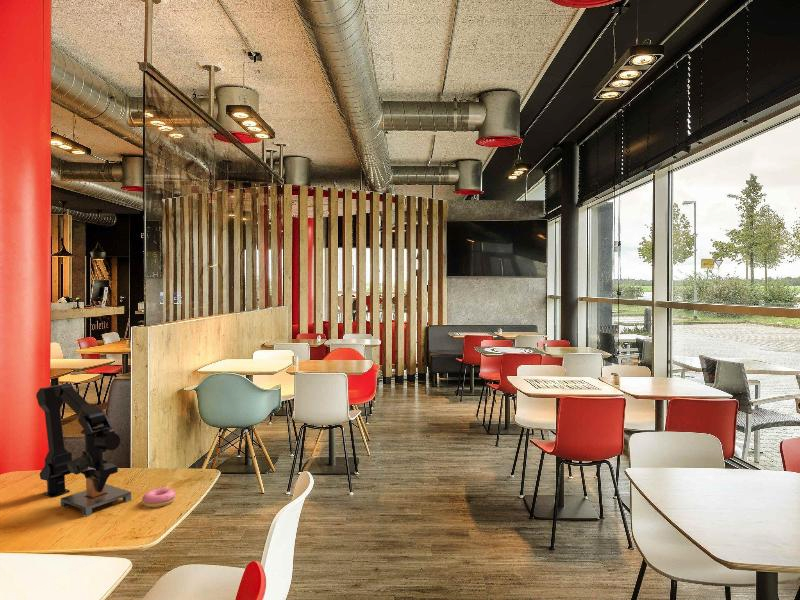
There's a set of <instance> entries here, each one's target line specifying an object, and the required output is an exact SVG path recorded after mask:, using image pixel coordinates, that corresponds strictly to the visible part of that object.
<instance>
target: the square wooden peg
mask: <svg viewBox="0 0 800 600" xmlns="http://www.w3.org/2000/svg"><path fill="white" fill-rule="evenodd" d="M85 485H86V486H85V487H86V489H85V490H87V498H89V499H94V498H97V497H100V496H103V495H105V485H104V487H103V490H102V492H98V490H97V484H96V479H95V478H94V477H93V476H91V477H87V478H85Z"/></svg>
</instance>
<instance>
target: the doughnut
mask: <svg viewBox="0 0 800 600" xmlns="http://www.w3.org/2000/svg"><path fill="white" fill-rule="evenodd" d="M176 494H177V493H176V491H175V490H174V489H173V488H170V487H158V488H154V489H150V490H148V491H147V492H146V493H144V494H143V496H142V499H141V500H142V504H143V506H145V507H148V508H160V507H161V506H162V507H164V506H165V507H166V506H168V505H170V504H171V503H173V502H174V501H175V499H176Z"/></svg>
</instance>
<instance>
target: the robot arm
mask: <svg viewBox="0 0 800 600" xmlns="http://www.w3.org/2000/svg"><path fill="white" fill-rule="evenodd" d="M35 397H36V400H37V404H38V406H39V408H41V410H42V411H43V412H44V417H45V427H46V435H47V436H46V437H47V445H48V446H47V447H48V452H47V453H46V456H45V458H44V466H43V468H42V469H41V470H40V472H39V477H40V480H43V481H46V491H44V492H42V494H43V495H45V496H47V497H50V498H53V497H56V496H57V497H58V496H61V495H63V494H66V493H69V492H70V491H71V490H70V489H67V488H66V477H65V476H68V475H70V474H73V475H79V474H82V475H83V476H84V478H85V479H86V478H87V477H91V476H93V477H94V478H95V479H96V484H97V490H98V492H102V490H103V487H104V485H105V484H107V483H106V482H107V481H108V480H109V477H110V476H111V475H114V474H117V473H119V467H118V465H116V464H114V463H109V462H107V459H105V452H107V451H115V450H117V449H118V448H119V446H120V444H121V438H120V435H119V434H118V433H116V431H115V429H113V427H112V423H111V421H110V420H109V418H108V416H107V414H106V412H105V411H104V410H103V409H101V408H100V407H99V406H95V405H92V404H90V403H89V402H87V401H86V399H85V398H84V397H83V396H82V395H81V394H80V393H79V392H78V391H77V390H76V389H74V386H73V384H72V383H64V384H63V383H62V384H57V385H51V386H46V387H45V386H44V387H41V388H39V389H38V390H37V391H36V394H35ZM64 403H65V404H66V405H67V406H68V407H69V408H70V409H71V410H72V411H73V412H74V413H75V415H77V422H78V424H79V425H80V426H81V427H82V429H81V431H80V434H82V435H84V436H83V437H84V450H82V451H81V456H78V457H77V458H75V459H72V455H73V454H72V452H70V451H68V450H67V449H66V447H65V442H64V441H65V440H64V432H63V423H62V422H63V421H62V414H61V409H62V407H63V405H64Z"/></svg>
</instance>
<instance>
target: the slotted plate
mask: <svg viewBox="0 0 800 600" xmlns="http://www.w3.org/2000/svg"><path fill="white" fill-rule="evenodd" d="M120 499H122V502H124V501H125V503H127V502H129V501H130V502H131V501H132V491H130V490H127V489H124V488H120V487H117V486H114V485H111V484H107V483H105V495H103V496H100V497H97V498H94V499H89V498H87V490H86V489H85V490H82V491H79V492H76V493H72V494H70V495H67V496H64V497H60V508H63V507H65V508H68V507H70V506H73V507H74V508H75V507H76V508H79V509H80V510H82V516H84V515H85V517H88V516H87V515H89V516H91V515H93V509H94V508H96V507H99V506H102V505H105V504H108V503H111V502H114V501H117V500H120ZM67 506H68V507H67ZM90 514H91V515H90Z"/></svg>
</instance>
